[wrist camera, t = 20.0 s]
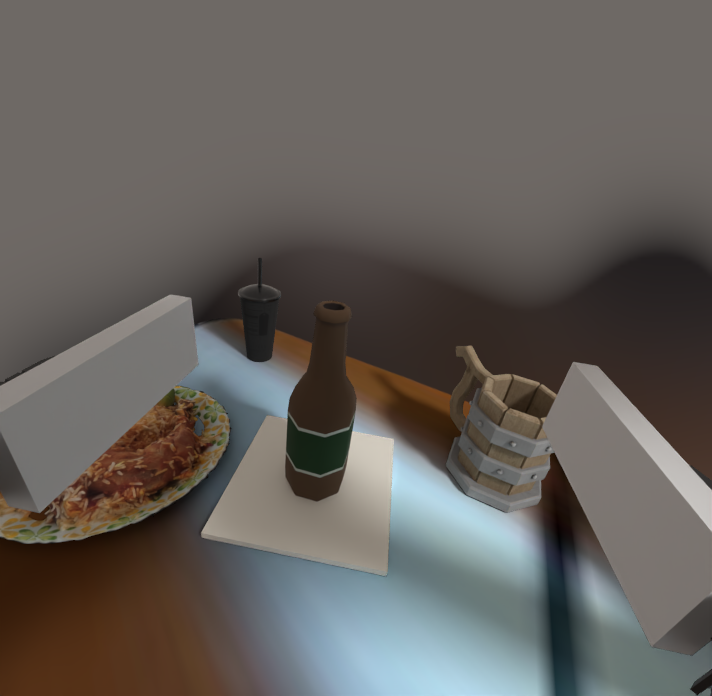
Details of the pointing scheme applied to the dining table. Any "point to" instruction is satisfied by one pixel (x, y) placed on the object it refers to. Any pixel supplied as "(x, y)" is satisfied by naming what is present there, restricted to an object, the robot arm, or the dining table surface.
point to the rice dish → (132, 473)
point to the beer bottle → (321, 410)
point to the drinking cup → (259, 317)
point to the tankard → (500, 436)
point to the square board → (309, 505)
